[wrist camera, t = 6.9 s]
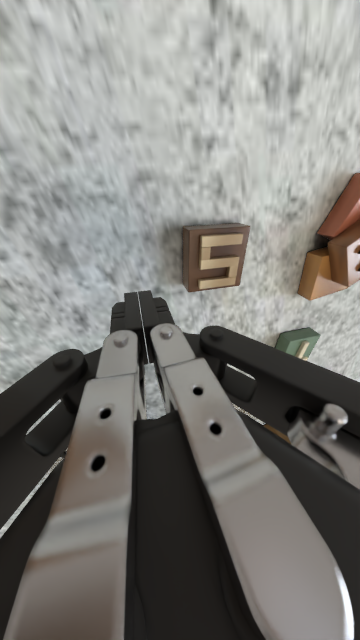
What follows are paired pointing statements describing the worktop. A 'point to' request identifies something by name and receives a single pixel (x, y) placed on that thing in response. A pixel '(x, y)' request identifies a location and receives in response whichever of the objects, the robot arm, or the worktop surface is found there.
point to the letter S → (213, 255)
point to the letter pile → (336, 248)
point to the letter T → (298, 342)
